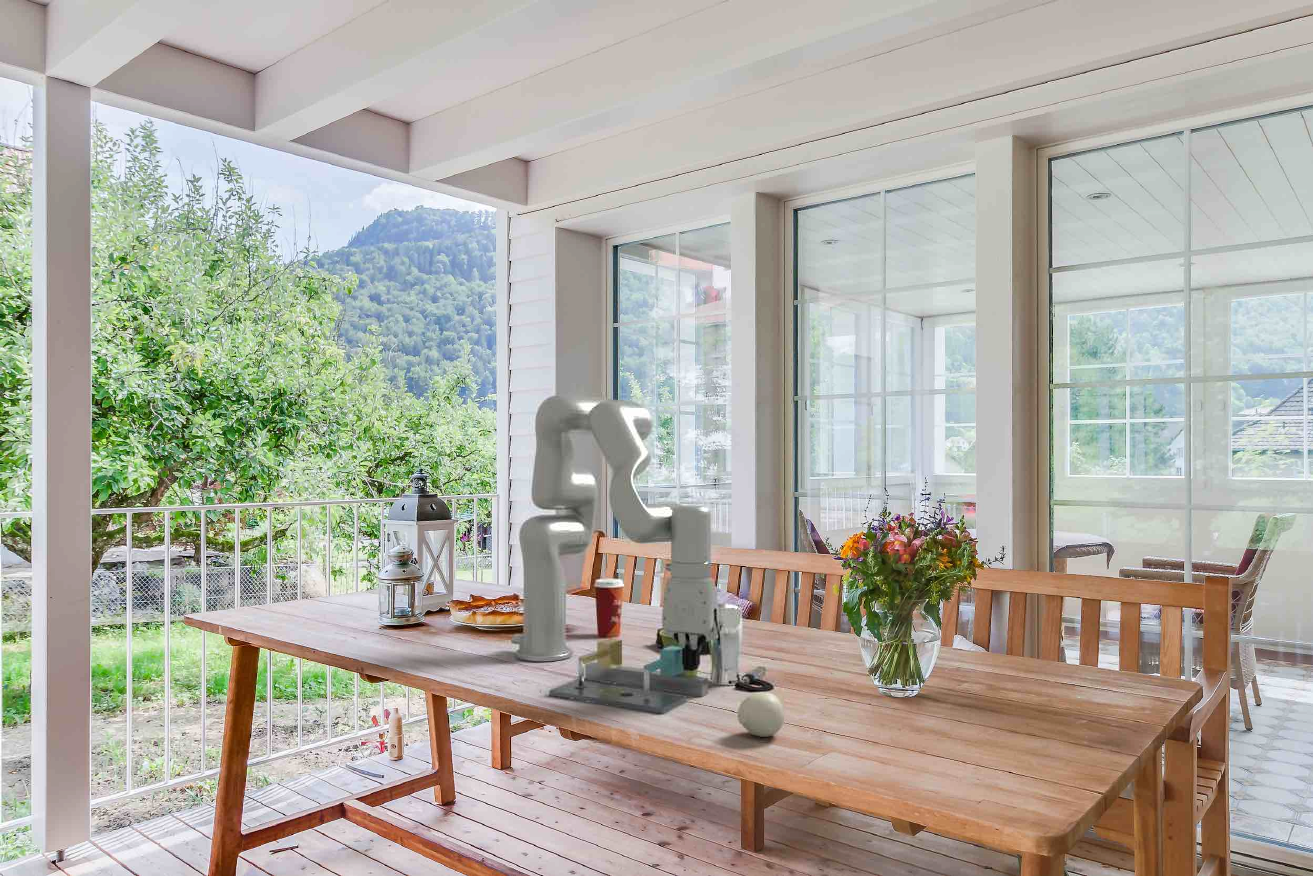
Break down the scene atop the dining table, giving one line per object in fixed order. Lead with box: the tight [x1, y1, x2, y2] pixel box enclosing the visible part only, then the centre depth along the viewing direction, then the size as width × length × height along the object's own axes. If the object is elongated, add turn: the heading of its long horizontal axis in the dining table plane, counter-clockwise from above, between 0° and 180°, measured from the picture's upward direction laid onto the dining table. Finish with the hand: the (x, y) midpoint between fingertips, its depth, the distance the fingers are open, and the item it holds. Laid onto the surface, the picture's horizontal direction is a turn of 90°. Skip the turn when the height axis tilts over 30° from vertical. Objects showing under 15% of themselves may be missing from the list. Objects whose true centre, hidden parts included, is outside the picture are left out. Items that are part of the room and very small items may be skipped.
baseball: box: [737, 691, 785, 738], centre depth 132 cm, size 7×7×7 cm
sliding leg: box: [643, 646, 685, 696], centre depth 156 cm, size 3×13×6 cm, turn 151°
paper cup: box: [593, 578, 625, 639], centre depth 212 cm, size 8×8×14 cm
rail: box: [584, 661, 709, 698], centre depth 162 cm, size 26×2×3 cm, turn 61°
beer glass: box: [707, 602, 743, 687], centre depth 166 cm, size 7×7×15 cm
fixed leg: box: [577, 638, 623, 686], centre depth 162 cm, size 3×13×6 cm, turn 151°
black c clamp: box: [734, 666, 774, 693], centre depth 165 cm, size 15×7×2 cm, turn 153°
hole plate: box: [549, 679, 688, 715], centre depth 153 cm, size 24×9×1 cm, turn 61°
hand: (691, 669), depth 157 cm, fingers closed
